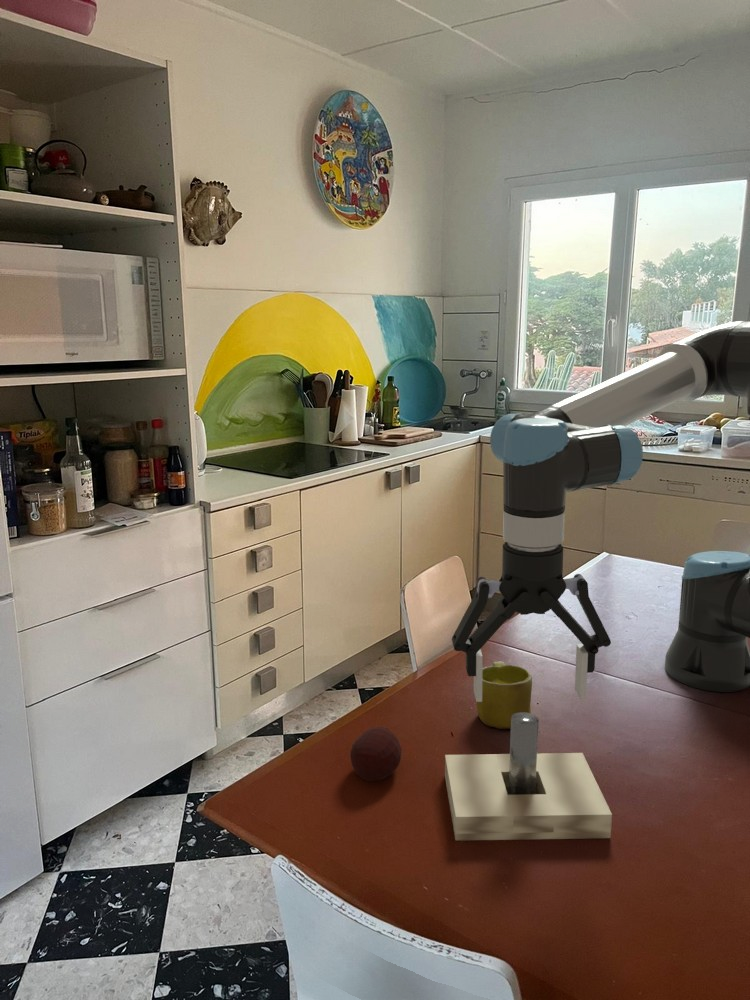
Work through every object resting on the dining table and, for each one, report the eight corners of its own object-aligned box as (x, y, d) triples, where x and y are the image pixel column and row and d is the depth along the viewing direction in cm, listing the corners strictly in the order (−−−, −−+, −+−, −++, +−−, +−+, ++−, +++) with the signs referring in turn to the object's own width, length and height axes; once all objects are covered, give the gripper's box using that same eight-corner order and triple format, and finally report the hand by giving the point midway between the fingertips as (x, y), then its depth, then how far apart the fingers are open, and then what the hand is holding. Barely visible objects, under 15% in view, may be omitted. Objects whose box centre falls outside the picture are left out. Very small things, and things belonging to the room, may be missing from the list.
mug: (542, 729, 121) (524, 668, 121) (479, 741, 123) (462, 681, 124) (545, 706, 133) (530, 650, 133) (488, 717, 135) (473, 662, 136)
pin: (531, 789, 107) (534, 711, 104) (537, 805, 104) (541, 725, 101) (505, 790, 107) (508, 712, 104) (511, 806, 104) (514, 726, 101)
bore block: (581, 774, 112) (582, 752, 112) (610, 838, 99) (612, 814, 98) (444, 776, 112) (445, 754, 111) (455, 840, 99) (455, 816, 98)
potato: (341, 785, 111) (340, 747, 109) (366, 748, 120) (365, 712, 118) (389, 795, 108) (388, 756, 107) (410, 757, 117) (410, 720, 116)
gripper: (622, 530, 100) (614, 678, 105) (431, 536, 100) (432, 684, 105) (642, 549, 93) (632, 706, 98) (436, 555, 93) (437, 712, 98)
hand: (529, 695), depth 102 cm, fingers open, 13 cm apart
